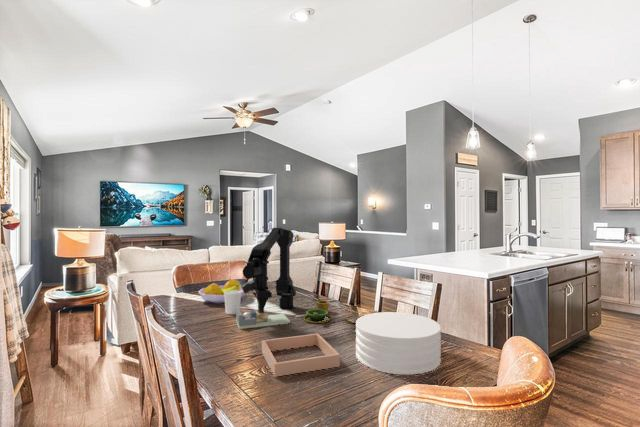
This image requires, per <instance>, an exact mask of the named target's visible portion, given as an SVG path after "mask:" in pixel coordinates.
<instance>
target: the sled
mask: <svg viewBox="0 0 640 427" xmlns="http://www.w3.org/2000/svg"><path fill="white" fill-rule="evenodd" d="M250 312H251V316H252V318H256V322H260V321H268V315H269V313H268V311H267V310H266V309H265V308H264V309H263V311H260V307H259V301H258V302H257V310H255V309H252V310H250Z"/></svg>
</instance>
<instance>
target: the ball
mask: <svg viewBox="0 0 640 427" xmlns="http://www.w3.org/2000/svg"><path fill="white" fill-rule="evenodd" d="M249 312H250V311H248V312H247V311H246V313H245V312H243V313H244V314H243V319H247V318H252V316H251V314H250V313H249Z"/></svg>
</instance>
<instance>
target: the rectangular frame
mask: <svg viewBox="0 0 640 427" xmlns="http://www.w3.org/2000/svg"><path fill="white" fill-rule="evenodd" d="M313 345H316V347H317V346H318V347H319V348H320V349H321V350H322V351H321V350H320V349H319V348H318V347H317V348H318V349H319V350H320V351H321V352H322V353H323V354H324V355H319V356H314V357H313V356H312V357H306V358H298V359H292V360H286V361H279V362H277V359H276V357H275V356H274V355H273V353H272V352H277V351H276V350H279V351H285V350H284V349H286V350H292V349H291V348H294V349H300V348H299V347H301V348H306V347H305V346H308V347H314V346H313ZM271 351H272V352H271ZM261 353H262V355H263V357H264V359H265V361H266V363H267V365H268V368H269V369H270V368H271V369H270V371H271V373H272V372H273V373H272V375H273V374H274V375H273V377H274V376H282V375H287V374H294V373H300V372H307V373H309V372H308V371H314V372H316V371H315V370H320V371H322V370H321V369H326V368H332V367H337V366H340V367H341V354H340V353H339V352H338V351H337V350H336V349H335V348H334V347H332V345H331V344H330V343H329V342H327V340H325V339H324V338H323V336H321V335H320V333H317V332H316V333H310V334H302V335H301V334H300V335H295V336H285V337H277V338H270V339H261ZM332 369H333V368H332ZM326 370H327V369H326Z"/></svg>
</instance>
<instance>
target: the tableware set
mask: <svg viewBox="0 0 640 427" xmlns="http://www.w3.org/2000/svg"><path fill="white" fill-rule="evenodd" d="M329 305H330V301H328V300H317V301H316V306H317V307H316V308H314V309H313V308H312V309H309V310H306V311H305V313H304V314H299V315H296V316H295V317H294V318H295V319H296V318H297V319H299V318H302V316H303V318H302V319H303V320H304V322H306V323H308V322H309V324H314V323H321V324H326V323H329V322H331V321H332V316H331V315H328V313H329V308H330V306H329ZM358 315H359V314H350V315H348V316H346V317H345V321H346V322H348V323H349V322H351V323H350V324H353V323H356V322H352V321H349V320H348V318H350V317H353V316H358ZM325 316H326V317H328V318H329V320H326V321H322V320H324V318H325ZM319 321H321V322H319ZM328 321H329V322H328ZM325 322H326V323H325Z"/></svg>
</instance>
